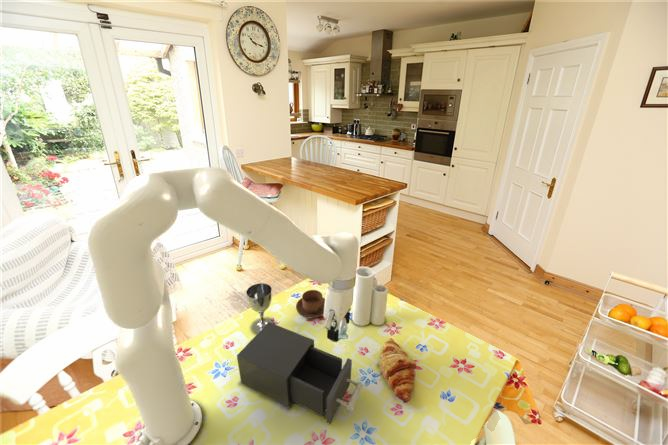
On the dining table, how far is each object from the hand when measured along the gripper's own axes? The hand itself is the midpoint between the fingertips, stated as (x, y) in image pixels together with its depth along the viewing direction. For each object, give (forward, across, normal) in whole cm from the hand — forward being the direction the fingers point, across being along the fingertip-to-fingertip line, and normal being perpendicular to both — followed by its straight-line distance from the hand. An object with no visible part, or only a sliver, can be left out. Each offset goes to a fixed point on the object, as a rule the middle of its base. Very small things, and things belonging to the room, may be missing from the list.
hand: (338, 330), depth 83 cm
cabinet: (+12, +12, -12) cm, 21 cm away
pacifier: (+2, 0, 0) cm, 2 cm away
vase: (+11, -21, +2) cm, 24 cm away
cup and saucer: (+11, -16, -18) cm, 26 cm away
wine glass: (+12, -1, -28) cm, 31 cm away
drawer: (+11, +12, +2) cm, 16 cm away
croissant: (+11, -4, +18) cm, 21 cm away
